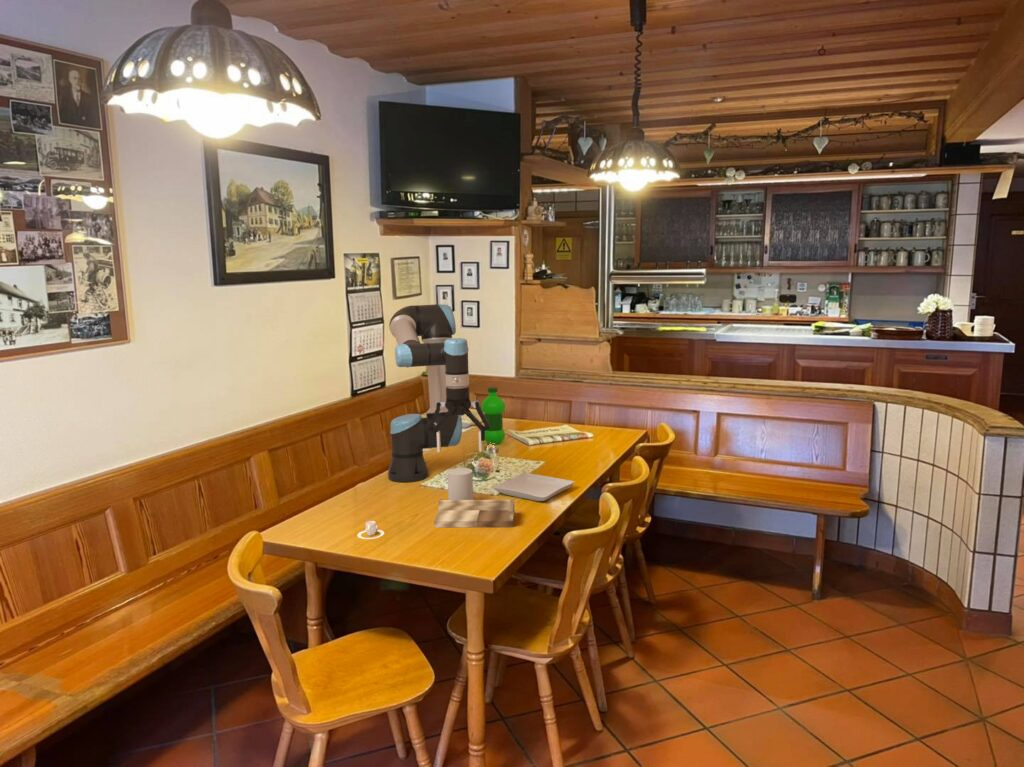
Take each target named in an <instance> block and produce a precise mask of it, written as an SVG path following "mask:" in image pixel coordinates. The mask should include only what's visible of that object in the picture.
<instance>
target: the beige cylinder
mask: <svg viewBox="0 0 1024 767" xmlns="http://www.w3.org/2000/svg"><path fill="white" fill-rule="evenodd" d="M473 476H474V475H473V470H472V469H471V468H468V467H467V468H466V467H456V468H451V469H449V470H448V471H447V495H448V496H447V497H448V500H474V484H473V483H474V480H473V478H474V477H473Z"/></svg>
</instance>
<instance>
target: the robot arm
mask: <svg viewBox="0 0 1024 767" xmlns="http://www.w3.org/2000/svg"><path fill="white" fill-rule="evenodd" d="M388 326H389V330H390V334H391V335H392V336H393V337H394V338H395V340H396V343H397V345H396V346H395V348H394V355H395V356H394V357H395V364H396V366H397V367H398V368H414V367H415V368H416V367H427V380H428V381H427V382H428V384H427V385H428V397H429V398H428V399H429V408H428V410H427V411H426V413H425V414H426V417H422V415H421V414H420V413H408V414H404V415H400V416H397V417H395V418H393V419H392V420H391V422H390V431H389V433H390V442H391V445H390V446H391V460H390V463H389V467H388V470H387V478H388V480H390V481H392V482H397V483H412V482H418V481H423V480H425V479H427V478H428V477H429V468H428V465H427V463H426V459H425V458H424V453H423V452H424V449H435V448H436V450H437V453H440V452H441V449H442V448H448V447H455V446H458V445H459V444H460V442H461V438H462V432H463V418H462V416H464V415H465V416H466V417H468V419H470V421H472V423H473V424H474V425H475V426H476V427H477V428H478V429H479V430H478V452H480V453H481V452H482V451H483V442H485V430H488V429H490V424H489V422H488V420H487V419H486V417H485V415H484V412H483V411H482V409H481V403H480V400H476V401H471V399H470V387H469V386H470V373H469V345H468V340H467V338H462V337H453V336H454V335H455V334H456V333H457V329H456V326H457V325H456V320H455V315H454V311H453V310H452V308H451V306H450V305H448V304H439V303H436V304H424V305H423V304H421V305H420V304H416V305H412V304H411V305H407V306H403V307H402V308H400V309H399V310H397V311H396V312H395V313H393V315H392V316H391V317H390V320H389V325H388ZM419 337H421V338H419ZM420 339H421V341H420ZM471 406H472V407H473V409H475V410H476V413H477V414H478V415H479V417H480V419H481V421H482V422H480V421H479V419H478V418H477V417H476V416H475V415H474V414H473V412H472V411H471V410H470V408H471ZM482 423H483V424H482Z"/></svg>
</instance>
